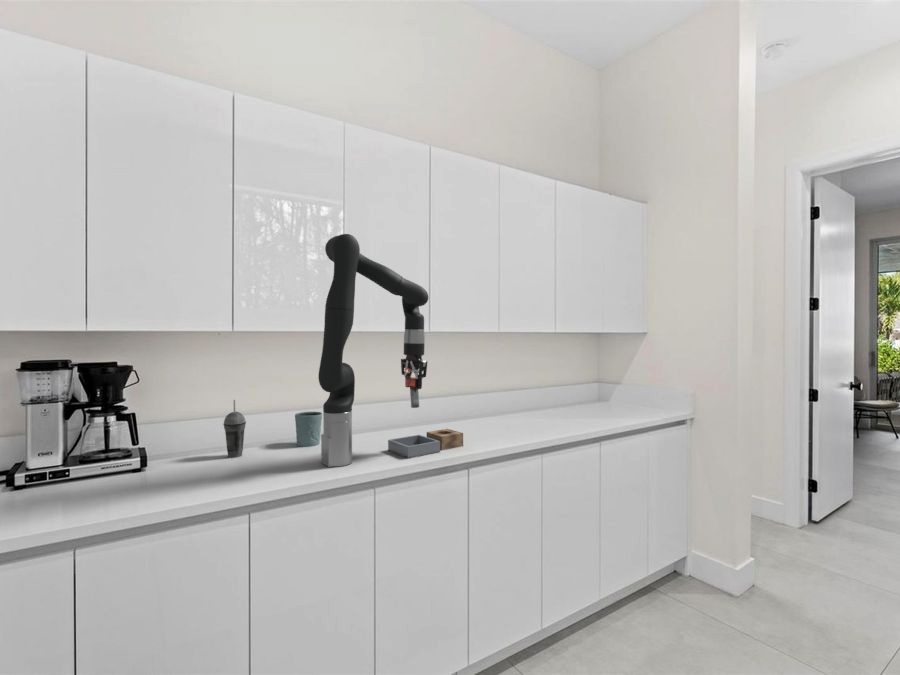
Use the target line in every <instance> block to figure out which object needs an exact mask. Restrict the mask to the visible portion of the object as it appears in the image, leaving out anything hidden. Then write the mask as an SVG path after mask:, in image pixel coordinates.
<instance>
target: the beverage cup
mask: <svg viewBox="0 0 900 675" xmlns="http://www.w3.org/2000/svg"><path fill="white" fill-rule="evenodd" d="M246 423H247V422H246V418H245V416H244V415H243V414H242V413H241V412H239V411H236V399H233V411H231V412H230V413H228V414H227V415H226V416H225V418H224V420H223V428H224V433H225V442H226V450H227V458H229V459H233V458H240V457H242V456H243V452H244V440H245V438H244V437H245V429H246V425H247V424H246Z"/></svg>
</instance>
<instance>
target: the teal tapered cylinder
mask: <svg viewBox="0 0 900 675" xmlns="http://www.w3.org/2000/svg"><path fill="white" fill-rule="evenodd" d="M322 418H323V413H322V412H320V411H301V412H296V413H295V414H294V420H295V433H296V446H297V447H302V448H308V447H309V448H311V447H315V446H319V445H320V443H321V428H322V427H321V426H322V420H323V419H322Z"/></svg>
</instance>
